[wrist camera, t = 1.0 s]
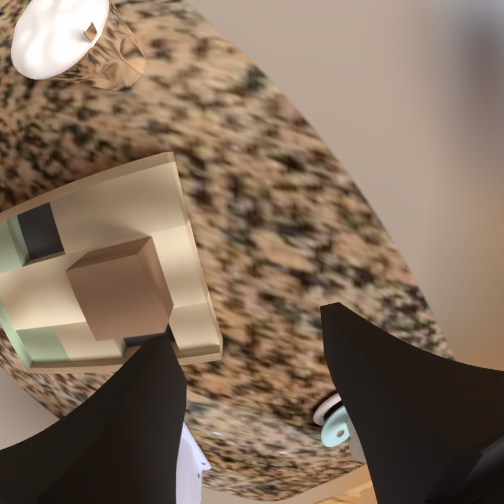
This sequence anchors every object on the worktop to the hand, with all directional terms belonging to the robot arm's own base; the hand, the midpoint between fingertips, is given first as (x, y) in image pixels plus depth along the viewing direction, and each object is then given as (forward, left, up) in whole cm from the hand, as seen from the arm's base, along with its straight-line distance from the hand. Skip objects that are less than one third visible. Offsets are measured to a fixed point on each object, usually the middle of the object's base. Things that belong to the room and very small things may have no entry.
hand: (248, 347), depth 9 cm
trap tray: (0, +12, -10) cm, 15 cm away
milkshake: (+13, +5, -10) cm, 17 cm away
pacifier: (-17, -6, -10) cm, 21 cm away
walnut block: (0, +7, -8) cm, 11 cm away
